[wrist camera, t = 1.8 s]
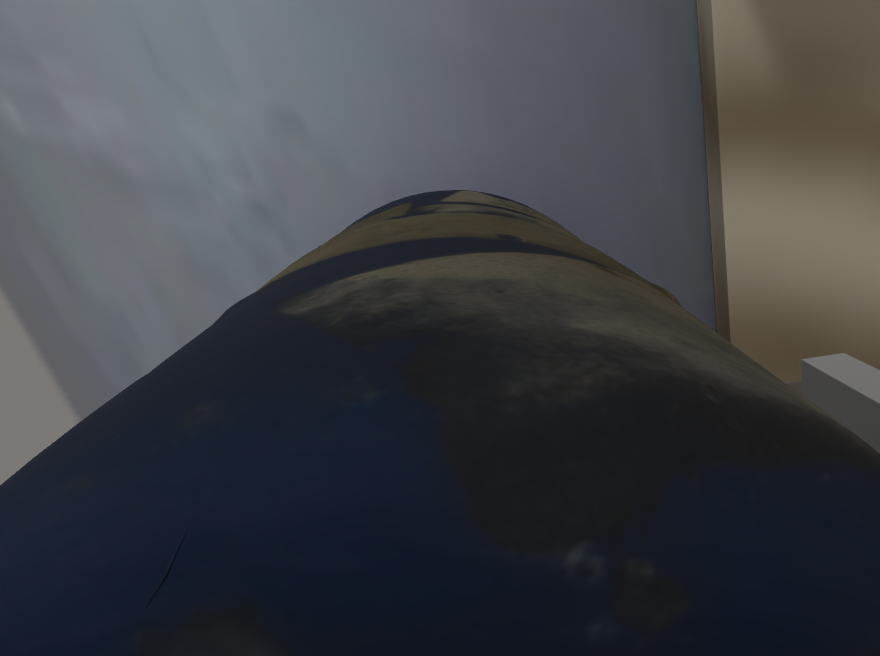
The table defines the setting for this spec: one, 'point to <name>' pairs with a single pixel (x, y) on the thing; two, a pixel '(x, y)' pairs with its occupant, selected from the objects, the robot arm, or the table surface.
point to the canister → (448, 472)
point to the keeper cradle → (794, 177)
